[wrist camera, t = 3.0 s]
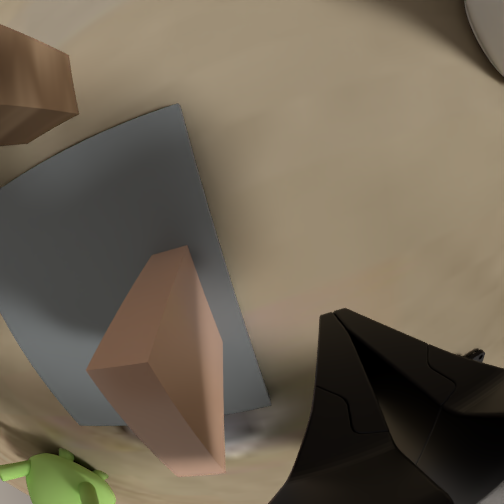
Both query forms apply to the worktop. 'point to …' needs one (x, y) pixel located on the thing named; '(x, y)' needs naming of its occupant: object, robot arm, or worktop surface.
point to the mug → (488, 28)
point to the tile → (167, 366)
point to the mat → (111, 256)
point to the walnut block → (32, 88)
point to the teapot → (60, 480)
